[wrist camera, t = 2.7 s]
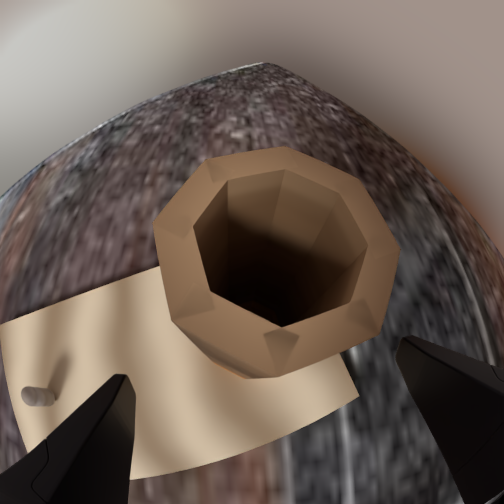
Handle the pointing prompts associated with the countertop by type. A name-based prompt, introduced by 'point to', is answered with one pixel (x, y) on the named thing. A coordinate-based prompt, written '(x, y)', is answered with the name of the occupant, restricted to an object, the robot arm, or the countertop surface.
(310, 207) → the sleeve
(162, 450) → the pin board
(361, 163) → the countertop surface
